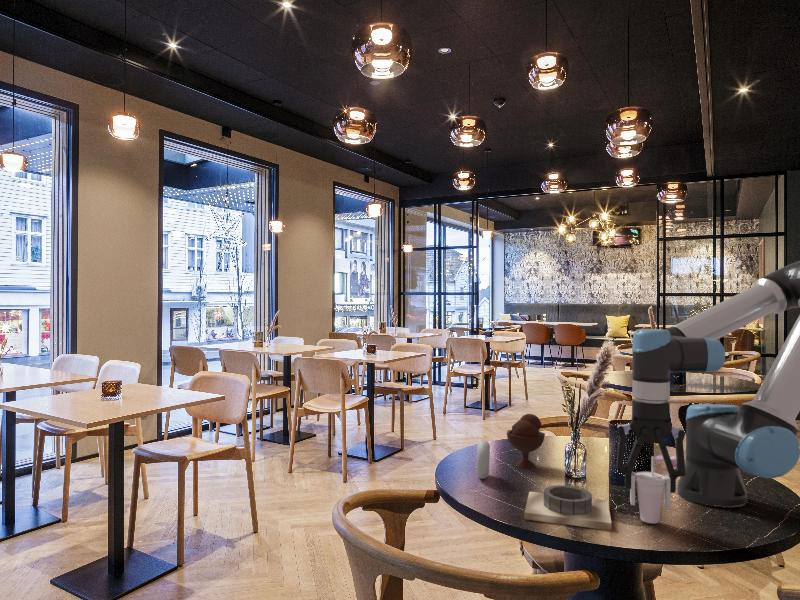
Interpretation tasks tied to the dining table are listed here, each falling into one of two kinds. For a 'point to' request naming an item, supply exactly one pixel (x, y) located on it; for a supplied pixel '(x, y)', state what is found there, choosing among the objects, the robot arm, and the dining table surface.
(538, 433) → the ice cream bowl
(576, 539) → the dining table surface
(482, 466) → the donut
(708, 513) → the dining table surface
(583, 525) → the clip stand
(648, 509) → the smoothie
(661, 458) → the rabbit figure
